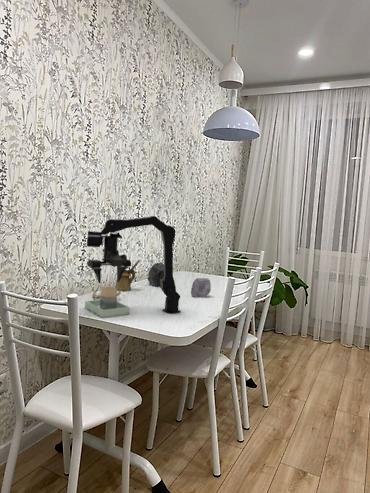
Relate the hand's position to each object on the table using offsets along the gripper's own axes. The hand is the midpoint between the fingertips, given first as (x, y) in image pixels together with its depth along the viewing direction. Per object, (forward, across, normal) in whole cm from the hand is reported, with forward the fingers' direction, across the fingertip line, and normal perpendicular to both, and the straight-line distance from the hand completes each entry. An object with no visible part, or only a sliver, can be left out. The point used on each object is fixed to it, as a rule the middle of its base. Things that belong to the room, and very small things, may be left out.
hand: (109, 282), depth 170 cm
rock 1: (+13, +55, +42) cm, 70 cm away
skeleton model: (+14, +9, +22) cm, 27 cm away
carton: (+6, 0, 0) cm, 6 cm away
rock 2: (+13, +60, +7) cm, 61 cm away
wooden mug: (+13, +30, +37) cm, 49 cm away
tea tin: (+12, 0, 0) cm, 12 cm away
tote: (+13, 0, 0) cm, 13 cm away
